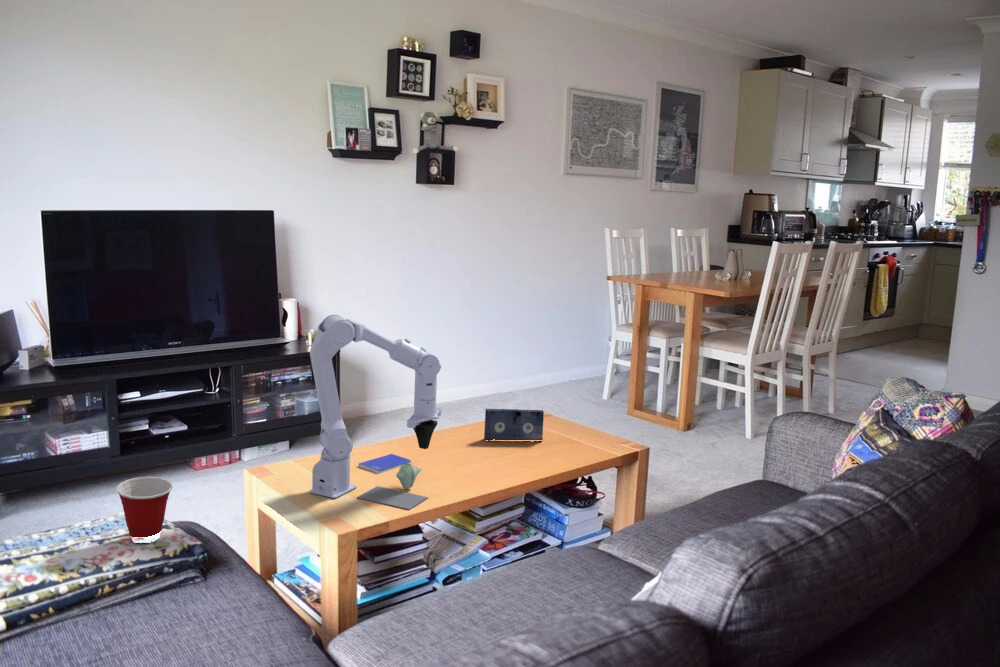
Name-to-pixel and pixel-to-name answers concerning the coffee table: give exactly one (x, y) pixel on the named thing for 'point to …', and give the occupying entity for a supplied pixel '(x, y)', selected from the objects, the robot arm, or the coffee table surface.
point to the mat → (393, 497)
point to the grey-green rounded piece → (408, 475)
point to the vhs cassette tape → (513, 424)
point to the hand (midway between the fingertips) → (423, 448)
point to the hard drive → (384, 463)
